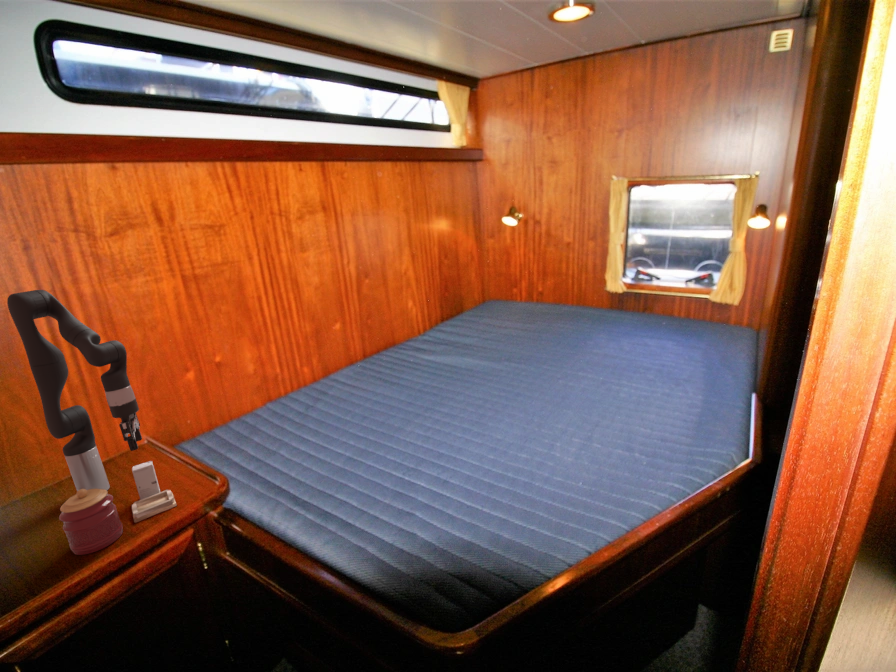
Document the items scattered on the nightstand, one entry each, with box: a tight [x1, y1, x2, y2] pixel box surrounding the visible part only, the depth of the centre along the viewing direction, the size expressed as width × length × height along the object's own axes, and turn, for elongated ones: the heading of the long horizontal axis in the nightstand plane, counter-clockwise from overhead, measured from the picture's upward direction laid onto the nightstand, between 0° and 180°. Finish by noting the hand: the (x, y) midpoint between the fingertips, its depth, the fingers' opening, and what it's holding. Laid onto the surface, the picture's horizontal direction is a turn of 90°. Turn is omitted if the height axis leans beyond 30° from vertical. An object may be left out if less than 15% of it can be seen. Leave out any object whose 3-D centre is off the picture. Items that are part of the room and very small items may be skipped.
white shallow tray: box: [131, 489, 178, 524], centre depth 153 cm, size 10×12×2 cm
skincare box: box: [131, 460, 161, 500], centre depth 159 cm, size 6×4×12 cm
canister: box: [58, 489, 124, 556], centre depth 136 cm, size 13×13×18 cm
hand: (136, 445), depth 155 cm, fingers open, 8 cm apart
